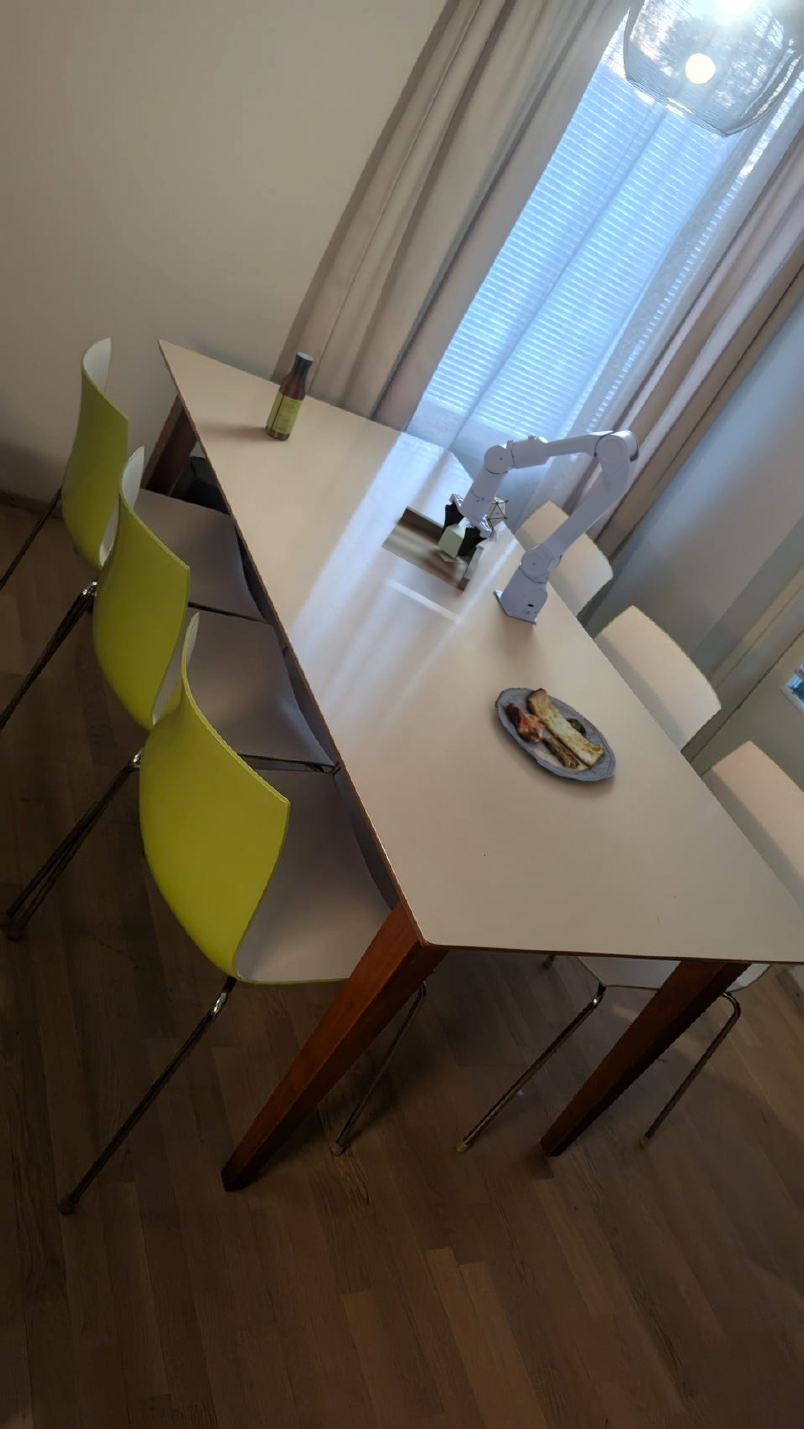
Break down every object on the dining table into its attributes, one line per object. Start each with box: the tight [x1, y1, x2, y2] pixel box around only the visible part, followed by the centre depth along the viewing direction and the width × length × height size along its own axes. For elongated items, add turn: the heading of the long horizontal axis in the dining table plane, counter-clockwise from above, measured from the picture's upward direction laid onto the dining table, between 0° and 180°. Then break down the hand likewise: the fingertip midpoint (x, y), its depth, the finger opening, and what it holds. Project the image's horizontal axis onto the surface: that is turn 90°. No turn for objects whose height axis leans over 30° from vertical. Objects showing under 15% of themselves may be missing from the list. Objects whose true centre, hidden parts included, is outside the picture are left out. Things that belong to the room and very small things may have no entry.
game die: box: [485, 496, 510, 531], centre depth 261 cm, size 9×8×10 cm
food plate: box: [494, 687, 617, 782], centre depth 193 cm, size 25×23×4 cm
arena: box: [381, 505, 485, 592], centre depth 232 cm, size 20×20×4 cm
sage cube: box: [437, 523, 465, 558], centre depth 233 cm, size 5×5×5 cm
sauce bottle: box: [264, 351, 314, 441], centre depth 243 cm, size 7×6×20 cm
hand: (453, 546), depth 234 cm, fingers closed on sage cube, 6 cm apart
